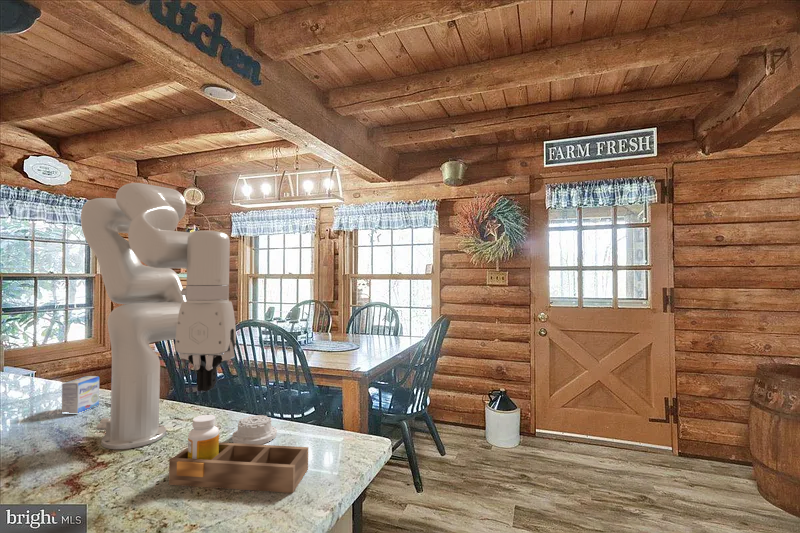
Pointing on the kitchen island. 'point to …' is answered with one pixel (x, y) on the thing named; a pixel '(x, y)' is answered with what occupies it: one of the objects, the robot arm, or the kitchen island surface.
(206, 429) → the supplement bottle
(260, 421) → the mechanical component
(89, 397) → the medicine box
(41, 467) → the kitchen island surface
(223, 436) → the kitchen island surface
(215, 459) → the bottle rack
